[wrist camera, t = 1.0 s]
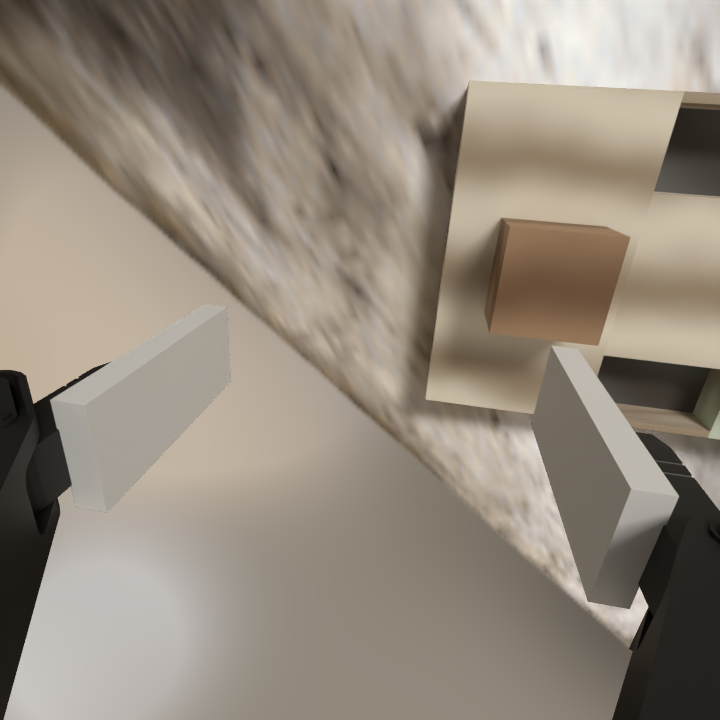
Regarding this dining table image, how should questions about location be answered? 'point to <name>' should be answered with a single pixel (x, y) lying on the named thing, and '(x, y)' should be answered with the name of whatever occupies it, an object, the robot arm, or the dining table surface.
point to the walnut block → (553, 280)
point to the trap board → (599, 208)
